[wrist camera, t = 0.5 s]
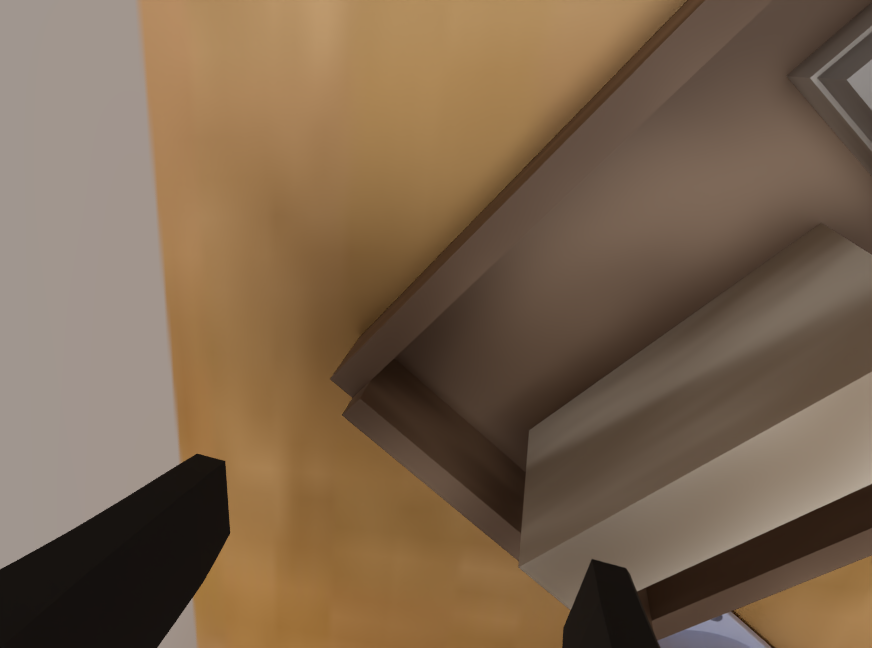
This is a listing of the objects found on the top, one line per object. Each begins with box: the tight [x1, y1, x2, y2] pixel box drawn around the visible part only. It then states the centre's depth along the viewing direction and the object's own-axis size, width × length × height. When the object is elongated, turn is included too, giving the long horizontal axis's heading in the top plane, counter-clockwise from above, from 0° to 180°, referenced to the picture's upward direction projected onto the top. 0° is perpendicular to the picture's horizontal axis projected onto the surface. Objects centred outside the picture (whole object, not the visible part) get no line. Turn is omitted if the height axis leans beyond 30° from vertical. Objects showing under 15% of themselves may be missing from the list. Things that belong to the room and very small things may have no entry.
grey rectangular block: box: [519, 223, 872, 610], centre depth 15 cm, size 2×11×6 cm, turn 138°
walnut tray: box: [330, 0, 872, 641], centre depth 15 cm, size 16×22×4 cm
